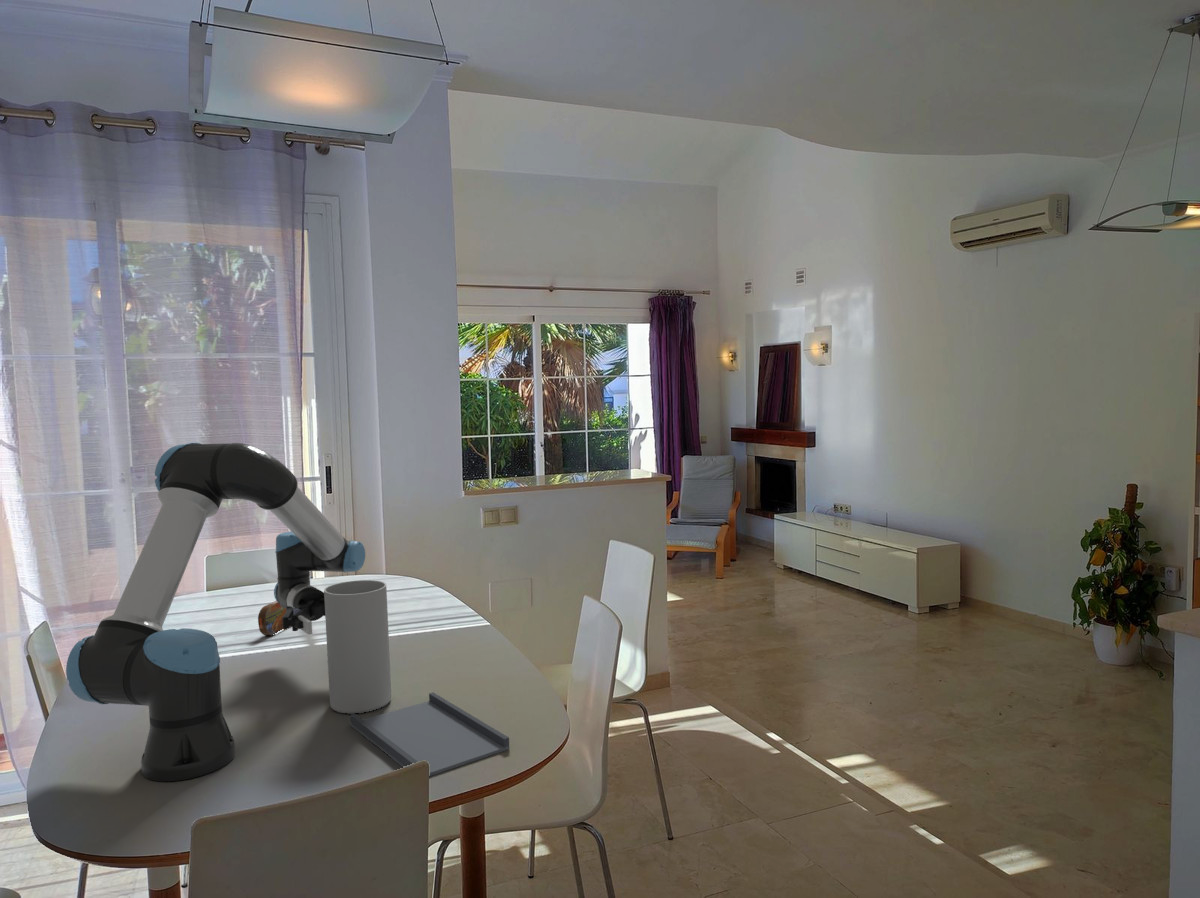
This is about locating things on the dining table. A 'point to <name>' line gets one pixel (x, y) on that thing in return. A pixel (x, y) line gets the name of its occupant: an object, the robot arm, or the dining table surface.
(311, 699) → the dining table surface
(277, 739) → the dining table surface
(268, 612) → the tin
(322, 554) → the robot arm
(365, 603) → the cylinder vase
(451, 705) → the mat
